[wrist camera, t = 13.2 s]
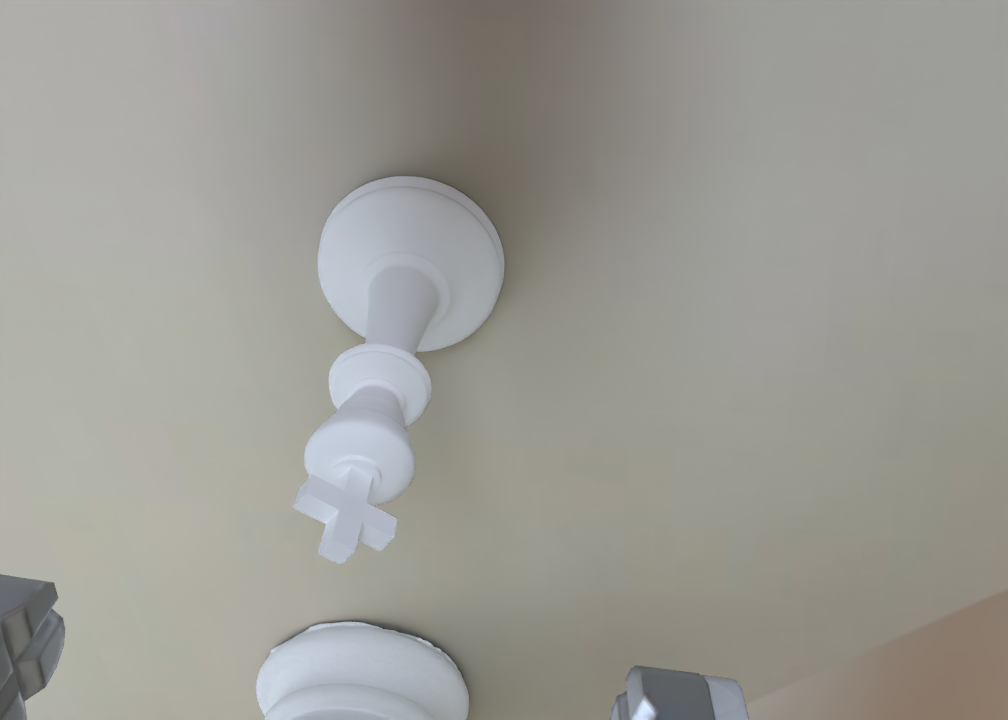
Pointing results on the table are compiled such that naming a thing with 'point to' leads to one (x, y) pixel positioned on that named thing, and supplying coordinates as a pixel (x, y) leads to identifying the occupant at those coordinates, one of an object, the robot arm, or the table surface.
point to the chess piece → (390, 341)
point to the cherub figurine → (360, 677)
